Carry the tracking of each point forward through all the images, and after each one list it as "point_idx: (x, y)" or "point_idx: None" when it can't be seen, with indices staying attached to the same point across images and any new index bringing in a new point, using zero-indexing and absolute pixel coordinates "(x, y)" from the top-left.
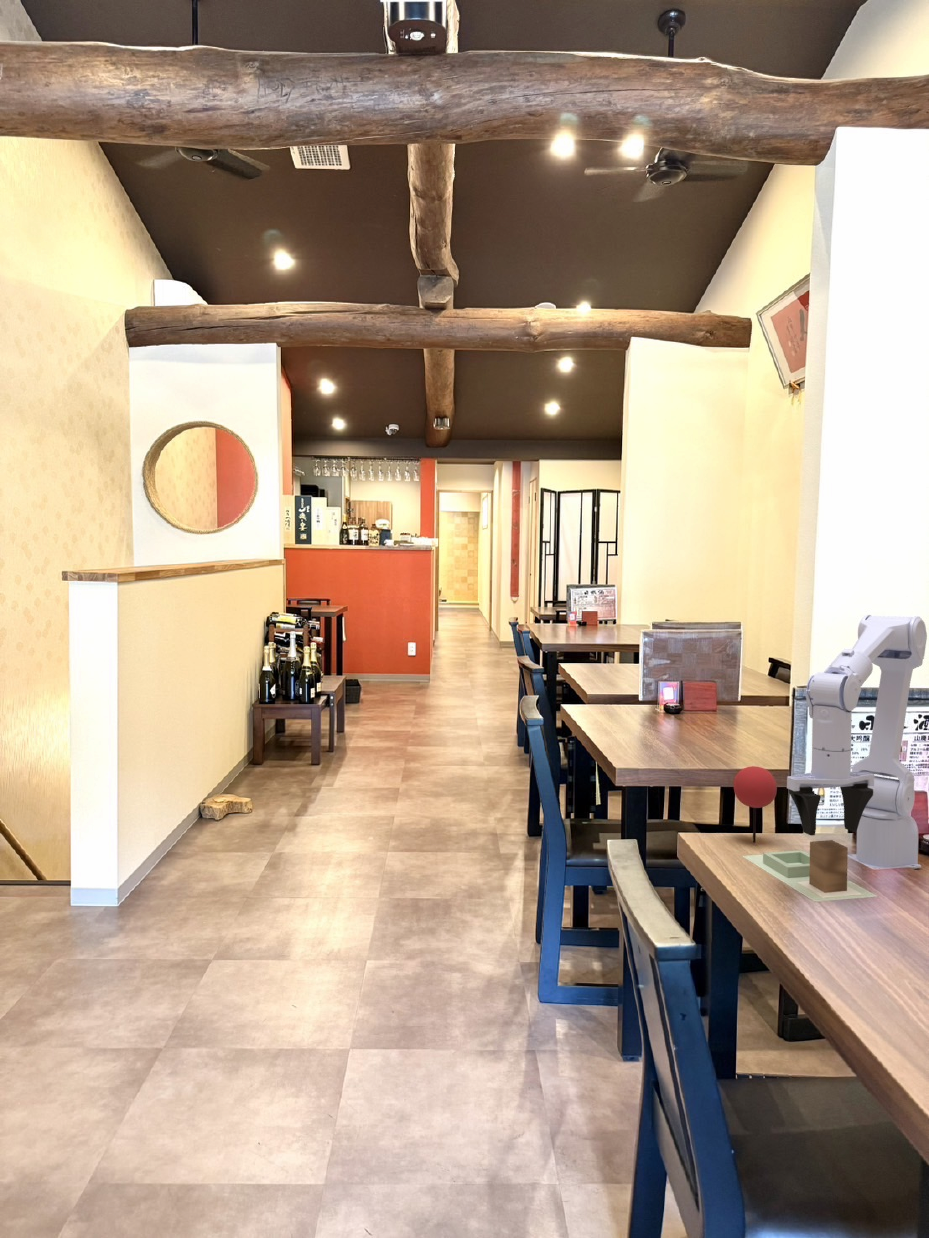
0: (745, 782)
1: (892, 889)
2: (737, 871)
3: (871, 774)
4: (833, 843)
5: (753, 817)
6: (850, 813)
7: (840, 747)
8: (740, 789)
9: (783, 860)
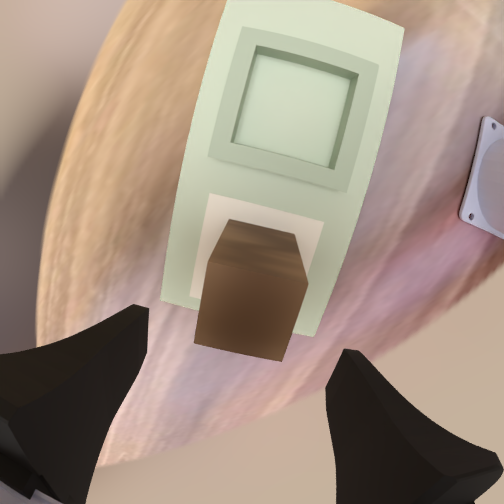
0: None
1: (396, 303)
2: (153, 48)
3: None
4: (276, 315)
5: None
6: (351, 424)
7: None
8: None
9: (297, 61)
